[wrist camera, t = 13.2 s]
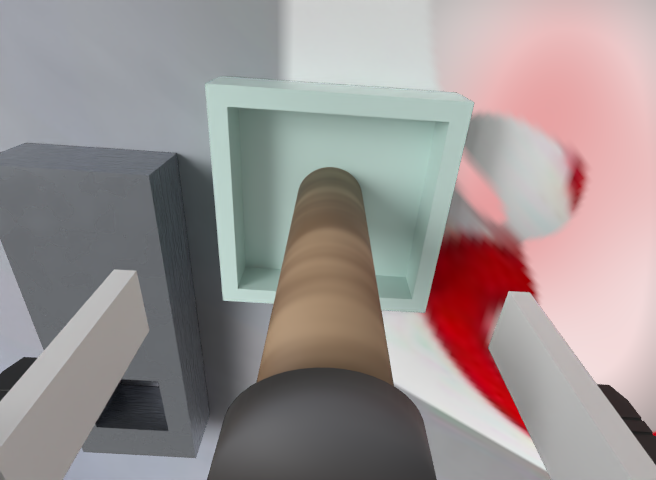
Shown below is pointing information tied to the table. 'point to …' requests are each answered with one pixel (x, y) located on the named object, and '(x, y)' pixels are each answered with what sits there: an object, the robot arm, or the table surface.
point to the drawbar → (97, 264)
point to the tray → (340, 152)
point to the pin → (325, 361)
